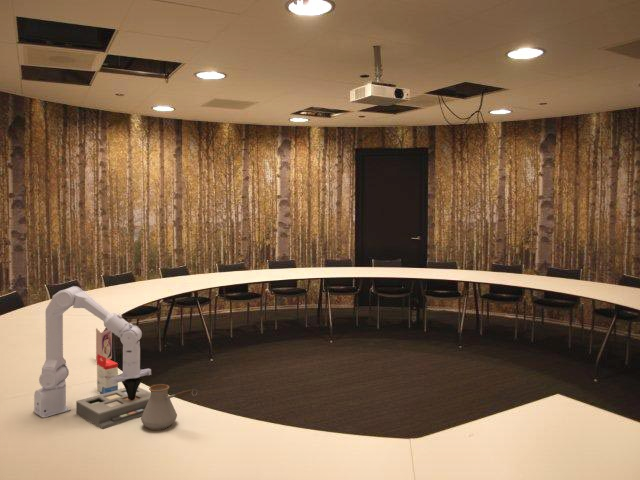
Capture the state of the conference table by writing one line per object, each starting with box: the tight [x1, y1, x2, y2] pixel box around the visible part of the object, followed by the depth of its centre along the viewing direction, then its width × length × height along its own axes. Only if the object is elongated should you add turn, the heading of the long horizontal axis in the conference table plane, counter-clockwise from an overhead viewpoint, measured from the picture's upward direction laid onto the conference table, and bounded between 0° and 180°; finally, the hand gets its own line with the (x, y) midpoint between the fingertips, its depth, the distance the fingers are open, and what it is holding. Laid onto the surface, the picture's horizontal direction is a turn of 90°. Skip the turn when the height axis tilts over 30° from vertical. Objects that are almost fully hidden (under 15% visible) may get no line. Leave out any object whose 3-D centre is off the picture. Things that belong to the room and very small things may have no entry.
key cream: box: [106, 401, 121, 407], centre depth 176 cm, size 4×4×2 cm
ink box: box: [96, 354, 119, 394], centre depth 199 cm, size 8×5×15 cm, turn 47°
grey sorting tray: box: [75, 386, 151, 430], centre depth 180 cm, size 22×18×4 cm
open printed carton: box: [95, 327, 113, 361], centre depth 238 cm, size 11×7×15 cm, turn 179°
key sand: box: [106, 395, 121, 404], centre depth 182 cm, size 4×4×2 cm
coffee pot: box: [140, 383, 198, 431], centre depth 167 cm, size 21×12×15 cm, turn 62°
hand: (131, 398), depth 181 cm, fingers closed
